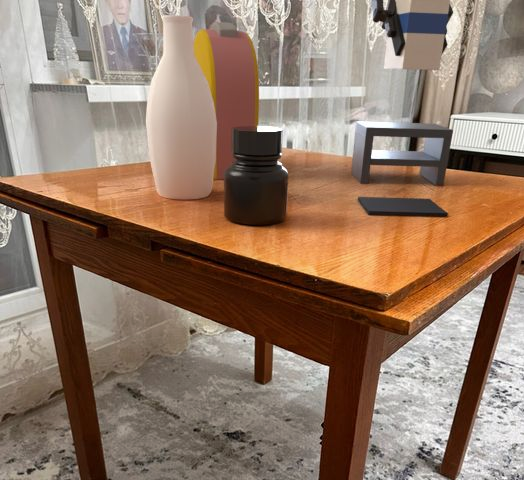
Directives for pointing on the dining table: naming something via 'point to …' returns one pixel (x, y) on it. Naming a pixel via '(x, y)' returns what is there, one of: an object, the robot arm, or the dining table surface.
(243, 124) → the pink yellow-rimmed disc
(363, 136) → the shelf
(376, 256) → the dining table surface
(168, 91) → the bottle
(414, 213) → the mat
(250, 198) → the ink bottle
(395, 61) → the box
